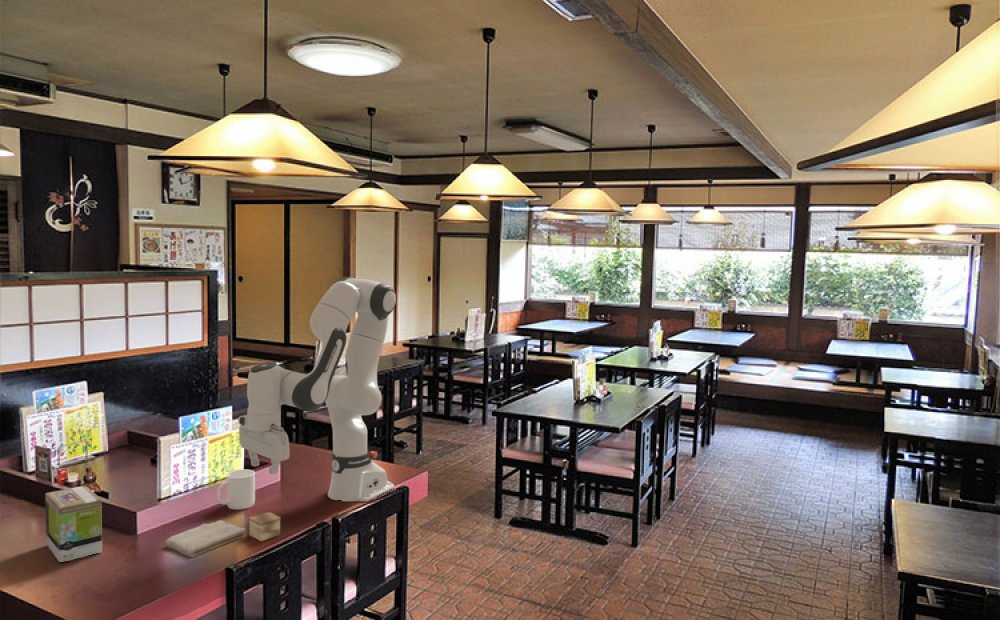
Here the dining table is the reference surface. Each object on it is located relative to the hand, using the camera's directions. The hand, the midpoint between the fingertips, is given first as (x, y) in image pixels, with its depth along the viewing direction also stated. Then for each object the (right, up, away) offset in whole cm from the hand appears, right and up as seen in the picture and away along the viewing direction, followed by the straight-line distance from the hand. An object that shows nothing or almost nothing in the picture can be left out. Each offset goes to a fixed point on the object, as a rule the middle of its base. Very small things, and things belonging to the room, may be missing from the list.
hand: (264, 469), depth 191 cm
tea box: (-47, -19, -10) cm, 52 cm away
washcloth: (-15, -20, -3) cm, 25 cm away
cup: (-16, -17, +22) cm, 32 cm away
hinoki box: (0, -19, +2) cm, 19 cm away
